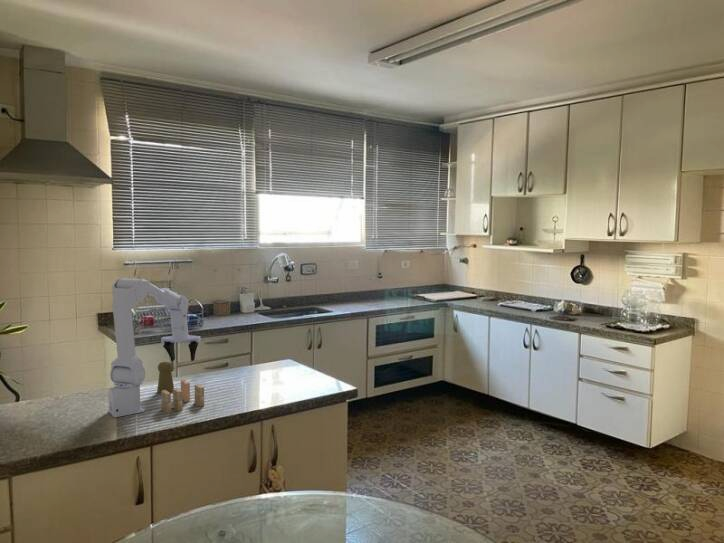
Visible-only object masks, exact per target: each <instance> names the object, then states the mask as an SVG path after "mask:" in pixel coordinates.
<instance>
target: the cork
mask: <svg viewBox="0 0 724 543" xmlns="http://www.w3.org/2000/svg"><path fill="white" fill-rule="evenodd" d="M173 369H174V366H173V363H172V362H171V361H163V362H159V364H158V365H157V370H158V372H159V375H158V382H157V392H156V394H159V395H161V391H162V390H166V391H168V392H169V393H171V394H173V388H175V387H174V380H173V374H172V371H173Z"/></svg>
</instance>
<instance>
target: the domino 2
mask: <svg viewBox="0 0 724 543" xmlns="http://www.w3.org/2000/svg"><path fill="white" fill-rule="evenodd" d="M180 390H181V391H182V401H184V400H185V402H186V401H188V402H190V401H191V383H190V382H189V381H188V380H186V379H181V380H180Z"/></svg>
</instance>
